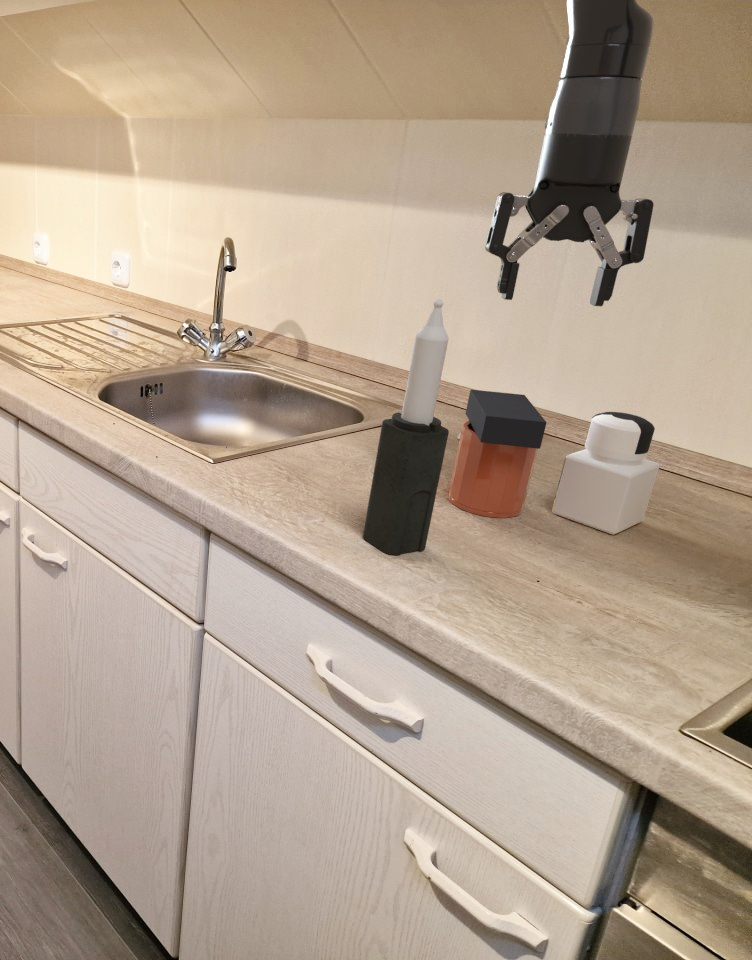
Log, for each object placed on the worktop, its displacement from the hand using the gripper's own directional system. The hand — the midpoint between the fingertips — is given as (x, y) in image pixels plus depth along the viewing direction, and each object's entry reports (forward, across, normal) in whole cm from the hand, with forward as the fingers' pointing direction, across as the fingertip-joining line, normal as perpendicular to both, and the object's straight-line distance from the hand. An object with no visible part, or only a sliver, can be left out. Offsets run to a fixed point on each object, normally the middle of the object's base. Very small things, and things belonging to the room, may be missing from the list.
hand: (551, 302), depth 87 cm
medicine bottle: (+24, +10, +3) cm, 26 cm away
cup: (+24, -2, +3) cm, 24 cm away
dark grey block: (+15, -2, +3) cm, 15 cm away
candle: (+24, -13, -12) cm, 30 cm away
